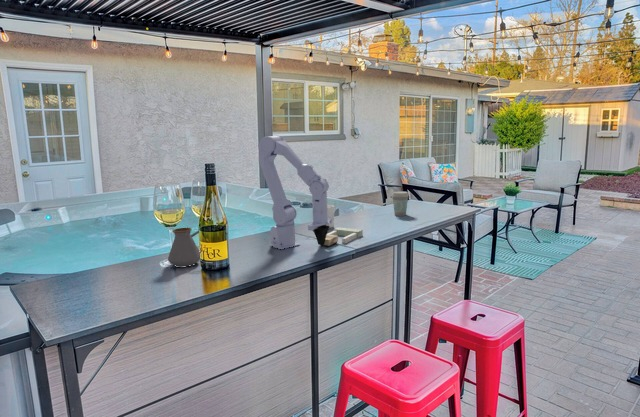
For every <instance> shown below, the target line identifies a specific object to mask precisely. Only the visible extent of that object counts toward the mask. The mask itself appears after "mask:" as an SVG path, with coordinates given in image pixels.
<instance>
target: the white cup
mask: <svg viewBox="0 0 640 417" xmlns="http://www.w3.org/2000/svg"><path fill="white" fill-rule="evenodd" d="M327 212H328V218H332V223H330V224H328V225H327V224H326V226H329V229H332V228H334V225H335V222H334V221H335V205H333V204H327Z"/></svg>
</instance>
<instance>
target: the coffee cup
mask: <svg viewBox="0 0 640 417" xmlns="http://www.w3.org/2000/svg"><path fill="white" fill-rule="evenodd" d="M391 195H392V202H393V204H392V205H393V210H394V211H393V212H394V213H393V214H394V216H396V215H397V216H398V217H404V215H405V216H406V215H407V208H408V198H409V192H408V191H401V190H397V191H392V194H391Z"/></svg>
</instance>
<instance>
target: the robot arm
mask: <svg viewBox="0 0 640 417" xmlns="http://www.w3.org/2000/svg"><path fill="white" fill-rule="evenodd" d="M258 149H259V152H258V163H259V166H260V168H261V170H262V175H263V177H264V179H265V182H266V186H267V188H268V191H269V194H270V196H271V199H272V202H273V205H272V208H271V210H272V219H273V221H274V222H275V224H276V225H274V226H272V227H270V230H269V231H270V232H269V233H270V234H269V236H270V244H269V246H270V247H272V246H273V247H272V248H275V249H277V248H278V249H277V250H280V249H281V250H284V248H285V249H290V248H292V247H293V246H294V247H297V246H300V244H301V243H298V242H296V231H295V230H296V228H295V219H296V217H297V215H298V214H297V210H296V207H294V206H293V204H292V202H291V201H290V200H289V199H288V198H287V195H286V194H285V190H284V187H283V184H282V182H281V179H280V176H279V173H278V170H277V167H276V165H275V163H274V162H275V160H276V157H277V155H279V156H283V158H285V159H286V160H287V161H288V162H289V163H290V164H291V165H292V166H293V167H294V168H295V169H296V172H297V176H298V177H299V178H300V179H301V181H303V182H304V183H305V184H306V185H307V186H308V190H309V193H310V194H311V195H312V196H311V197H312V198H311V203H312V221H311V223H309V224H308V225H307V230H308V231H312V232H313V234H314V235H315V238H316V240H317V242H316V243H317V244H318V245H319V246H321V245H322V246H325V245H324V244H325V239H326V235H327V234H328V233H329V232H328V231H329V230H330V228H329V226H326V224H327V225H328V224H330V223H332V218H328V212H327V205H328V193H327V192H328V190H329V187H330V186H329V182H328V181H327V179H326V178H323V177H322V176H321V175H320V174H318V173H317V171H315V170H314V167H313V165H309V163H307V164H306V163H304V162H303V161H302V160H301V159H300V157H299V156H298V155H297V154H296V153H295V151H294V150H293V148H291V146H290V145H289V144H288V142H287V141H286V140H284V138H283V137H282V136H281V135H271V136H270V135H269V136H268V135H266V136H263V137H262V138H261V139H260V141H259V143H258ZM289 247H290V248H289Z"/></svg>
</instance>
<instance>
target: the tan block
mask: <svg viewBox="0 0 640 417" xmlns="http://www.w3.org/2000/svg"><path fill="white" fill-rule="evenodd" d="M338 242H339V235H337V236H335V235H326V239H325V244H324V245H320V246H327V247H329V248H330V247H332V245H334V244H337V243H338Z"/></svg>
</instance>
